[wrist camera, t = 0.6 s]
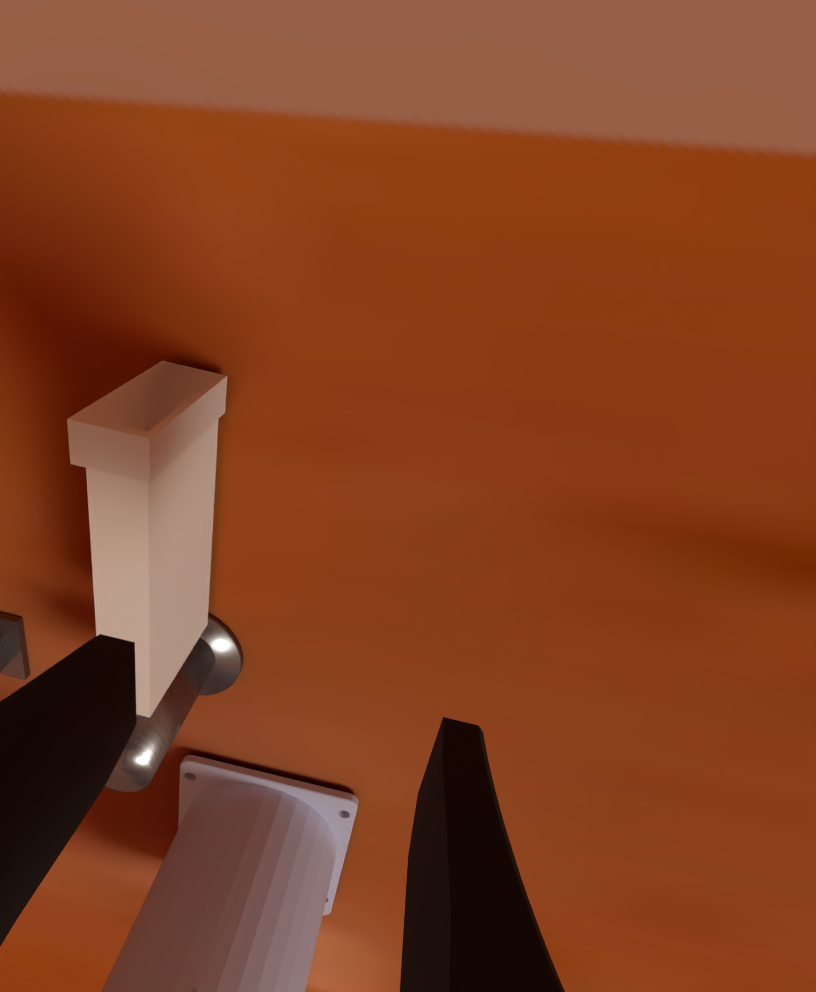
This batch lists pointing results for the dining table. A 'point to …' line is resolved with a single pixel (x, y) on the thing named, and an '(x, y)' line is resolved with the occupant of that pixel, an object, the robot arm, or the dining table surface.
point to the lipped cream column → (152, 513)
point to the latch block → (13, 647)
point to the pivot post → (178, 705)
